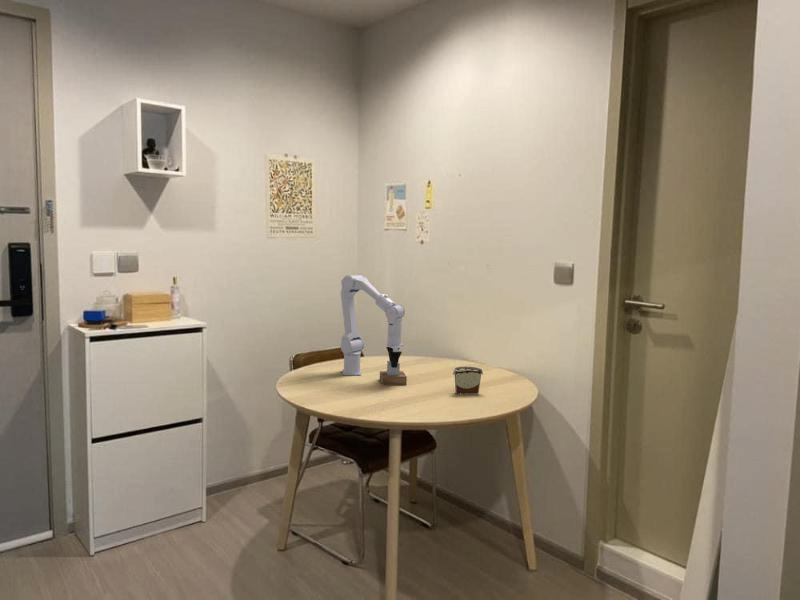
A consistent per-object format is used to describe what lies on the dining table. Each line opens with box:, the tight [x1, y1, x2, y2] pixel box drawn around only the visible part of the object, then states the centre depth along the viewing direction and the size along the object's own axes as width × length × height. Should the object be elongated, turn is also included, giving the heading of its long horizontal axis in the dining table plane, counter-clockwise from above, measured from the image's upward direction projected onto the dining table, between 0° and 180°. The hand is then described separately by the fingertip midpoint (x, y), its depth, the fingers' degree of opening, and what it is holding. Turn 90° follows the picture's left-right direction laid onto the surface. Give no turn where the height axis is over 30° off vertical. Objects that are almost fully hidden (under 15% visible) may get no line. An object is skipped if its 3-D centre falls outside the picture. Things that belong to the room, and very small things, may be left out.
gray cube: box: [386, 360, 401, 375], centre depth 253 cm, size 5×5×5 cm
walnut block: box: [379, 370, 408, 386], centre depth 254 cm, size 10×10×4 cm
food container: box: [452, 366, 484, 395], centre depth 241 cm, size 12×6×10 cm, turn 104°
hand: (393, 365), depth 253 cm, fingers open, 7 cm apart
